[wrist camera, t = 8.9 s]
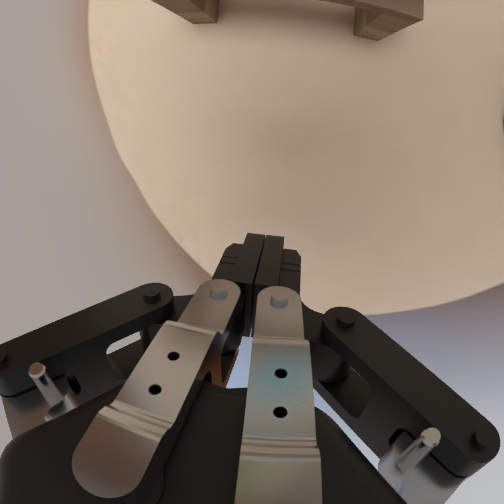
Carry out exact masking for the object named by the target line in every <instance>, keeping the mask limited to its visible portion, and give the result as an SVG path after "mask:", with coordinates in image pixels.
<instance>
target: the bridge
mask: <svg viewBox="0 0 504 504" xmlns="http://www.w3.org/2000/svg"><path fill="white" fill-rule="evenodd" d="M151 1H153V2H155V3H157V4H159V5H161V6H163V7H165V8H166V9H168V10H170V11H172V12H174V13H175V14H177V15H179V16H181V17H182V18H184V19H186V20H188V21H189V22H191V23H193V24H199V23H217V15H218V4H219V0H151ZM319 1H326V2H332V3H338V4H343V5H348V6H353V7H356V11H355V26H354V36H358V37H363V38H367V39H371V40H376V41H378V40H380V39H382V38H384V37H386V36H388V35H391V34H393V33H395V32H397V31H399V30H401V29H403V28H405V27H407V26H410V25H412V24H414V23H416V22H419V21H421V20H423V3H424V0H319Z"/></svg>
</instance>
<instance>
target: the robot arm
mask: <svg viewBox="0 0 504 504" xmlns="http://www.w3.org/2000/svg"><path fill="white" fill-rule="evenodd" d="M283 246H284V237H281V236H272V235H267V236H266V240H265V235H262V234H253V233H247V236H246V238H245V241H244V244H235V243H233V244H232V245H230V246H229V247H227V248H226V249H225V251H224V253H223V256H222V258H221V260H220V263H219V264H218V266H217V269H216V271H215V273H214V275H213V277H212V280H209V281H207V282H204V283H203V284H202V285H200V287H199V288H198V290H197V291H196V293H195V294H193V295H186V296H173V291H172V289H171V288H170V287H168V286H167V285H165V284H161V283H149V284H145V285H142V286H139V287H137V288H135V289H132V290H130V291H127V292H125V293H122V294H120V295H117V296H115V297H113V298H110V299H108V300H106V301H103V302H101V303H98V304H96V305H93V306H91V307H88V308H86V309H84V310H81V311H79V312H77V313H74V314H72V315H69V316H67V317H64V318H62V319H60V320H57V321H55V322H52V323H50V324H48V325H45V326H43V327H41V328H38V329H36V330H33V331H31V332H29V333H26V334H24V335H22V336H19V337H17V338H14V339H12V340H10V341H7V342H5V343H3V344H0V396H1V398H2V401H3V405H4V409H5V413H6V417H7V420H8V424H9V427H10V431H11V434H12V437H13V440H11V442H10V443H9V444H8V445H7V446H6V447H5V449H4V451H3V453H2V455H1V458H0V504H444V503H445V502H446V501H447V500H448V498H449V497H450V496H451V495H452V494H453V493H454V491H455V490H456V489H457V488H458V487H459V485H460V484H461V483H462V482H463V481H465V480H466V479H467V478H469V477H470V476H472V475H473V474H474V473H475V472H477V471H478V470H480V469H481V468H482V467H483V466H485V465H486V464H487V463H488V462H490V461H491V460H492V459H493V458H494V457H495V456H496V455H497V453H498V451H499V448H500V437H499V433H498V431H497V430H496V428H495V427H494V426H493V425H492V423H490V422H489V421H488V420H487V419H486V418H485V417H484V416H482V415H481V414H480V413H479V412H478V411H477V410H475V409H474V408H473V407H472V406H471V405H470V404H469V403H467V402H466V401H465V400H464V399H463V398H462V397H460V396H459V395H458V394H457V393H456V392H454V391H453V390H452V389H451V388H450V387H449V386H448V385H446V384H445V383H444V382H443V381H442V380H440V379H439V378H438V377H437V376H436V375H435V374H433V373H432V372H431V371H430V370H429V369H427V368H426V367H425V366H424V365H423V364H421V363H420V362H419V361H418V360H417V359H415V358H414V357H413V356H412V355H411V354H410V353H408V352H407V351H406V350H405V349H403V348H402V347H401V346H400V345H399V344H397V343H396V342H395V341H394V340H393V339H391V338H390V337H389V336H388V335H387V334H385V333H384V332H383V331H382V330H380V329H379V328H378V327H377V326H376V325H374V324H373V323H372V322H370V321H369V320H368V319H367V318H366V317H365V316H363V315H362V314H361V313H360V312H358V311H356V310H354V309H352V308H348V307H334V308H331V309H329V310H328V311H327V312H326V313H325V314H321V313H318V312H316V311H313V310H311V309H309V308H308V307H307V306H305V305H304V304H303V302H302V301H301V298H300V274H301V256H300V255H299V254H298V252H297V251H296V250H290V249H283ZM251 328H252V334H251V337H253V342H252V353H251V362H250V371H249V380H248V388H231V389H227V388H226V386H227V383H228V380H229V378H230V375H231V372H232V369H233V367H234V364H235V361H236V359H237V356H238V352H239V345H240V343H241V339H242V336H246V337H249V336H250V332H251ZM138 331H139V332H140V336H141V339H140V340H138V341H136V342H133V343H131V344H129V345H127V346H125V347H123V348H121V349H119V350H116V351H115V352H112V353H110V354H106V351H107V348H108V347H109V346H110V345H111V344H112V343H114V342H116V341H118V340H121V339H123V338H125V337H127V336H129V335H131V334H134V333H136V332H138ZM352 368H353V369H354V370H355V371H354V370H353V369H352ZM313 388H314V389H315V390H316V391H317V392H318V393H319V394H320V396H321V397H322V398H323V399H324V400H325V401H326V402H327V403H328V404H329V405H330V406H331V408H332V409H333V410H334V411H335V412H336V413H337V414H338V415H339V416H340V417H341V418H342V419H343V421H345V423H346V424H347V425H348V426H349V427H350V428H351V429H352V430H353V431H354V432H355V433H356V434H357V436H358V437H360V439H361V440H362V441H363V442H364V443H365V444H366V445H367V446H368V447H369V448H370V449H371V450H372V451H373V452H374V453H375V454H376V455H377V456H378V457H379V458H380V460H379V463H378V471H377V469H376V468H375V467H374V466H373V465H372V464H371V463H370V462H369V460H368V459H367V458H366V457H365V456H364V455H363V454H362V453H361V451H360V450H359V449H358V448H357V447H356V446H355V444H354V443H353V442H352V441H351V440H350V439H349V438H348V436H347V435H346V434H345V433H344V432H343V430H341V428H340V427H339V426H338V425H337V424H336V422H335V421H334V420H333V419H332V418H331V417H329V416H328V415H327V414H326V413H324V412H323V411H322V410H320V409H318V408H316V407H314V396H313Z"/></svg>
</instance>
